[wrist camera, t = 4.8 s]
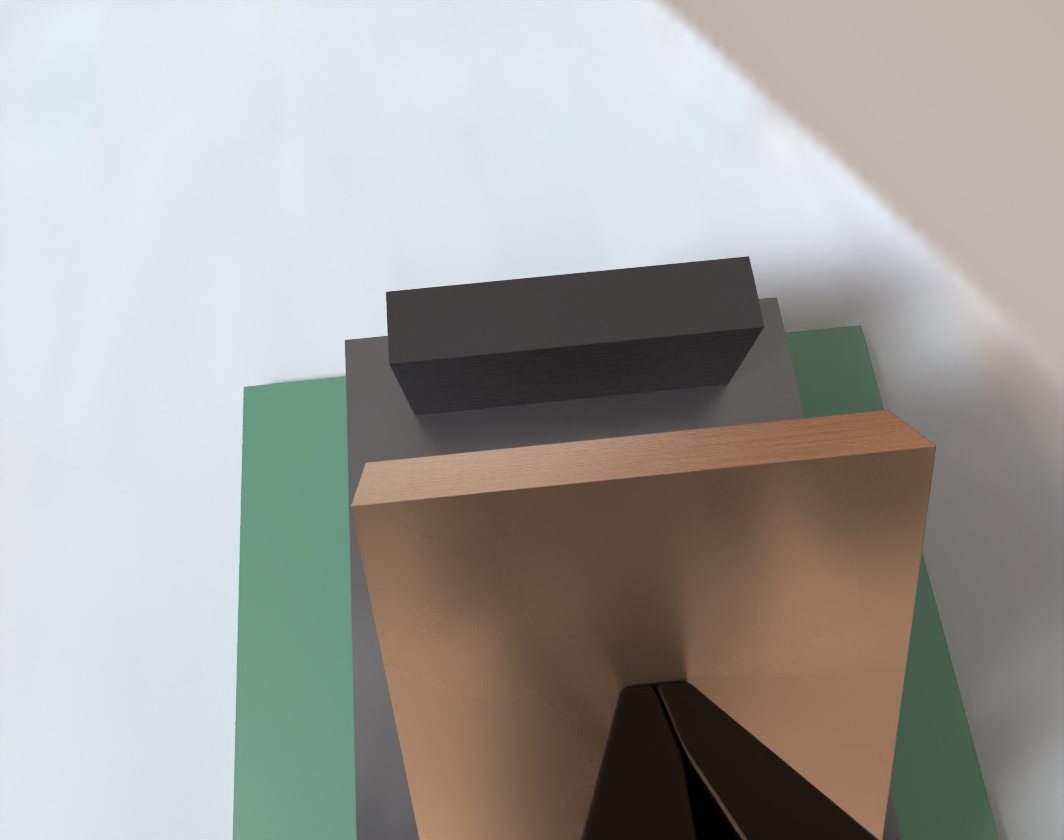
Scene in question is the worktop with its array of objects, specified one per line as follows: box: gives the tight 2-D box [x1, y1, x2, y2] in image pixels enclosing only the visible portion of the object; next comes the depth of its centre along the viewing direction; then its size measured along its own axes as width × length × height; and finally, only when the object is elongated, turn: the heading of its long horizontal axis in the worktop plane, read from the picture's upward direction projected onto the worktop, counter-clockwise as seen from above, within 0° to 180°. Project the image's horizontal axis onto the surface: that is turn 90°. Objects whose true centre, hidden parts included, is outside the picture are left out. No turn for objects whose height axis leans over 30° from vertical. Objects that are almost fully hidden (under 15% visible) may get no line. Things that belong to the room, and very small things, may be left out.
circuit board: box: [233, 326, 999, 840], centre depth 19 cm, size 20×18×1 cm
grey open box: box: [345, 257, 902, 840], centre depth 15 cm, size 16×10×7 cm, turn 6°
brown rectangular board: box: [351, 410, 936, 840], centre depth 10 cm, size 10×6×1 cm
